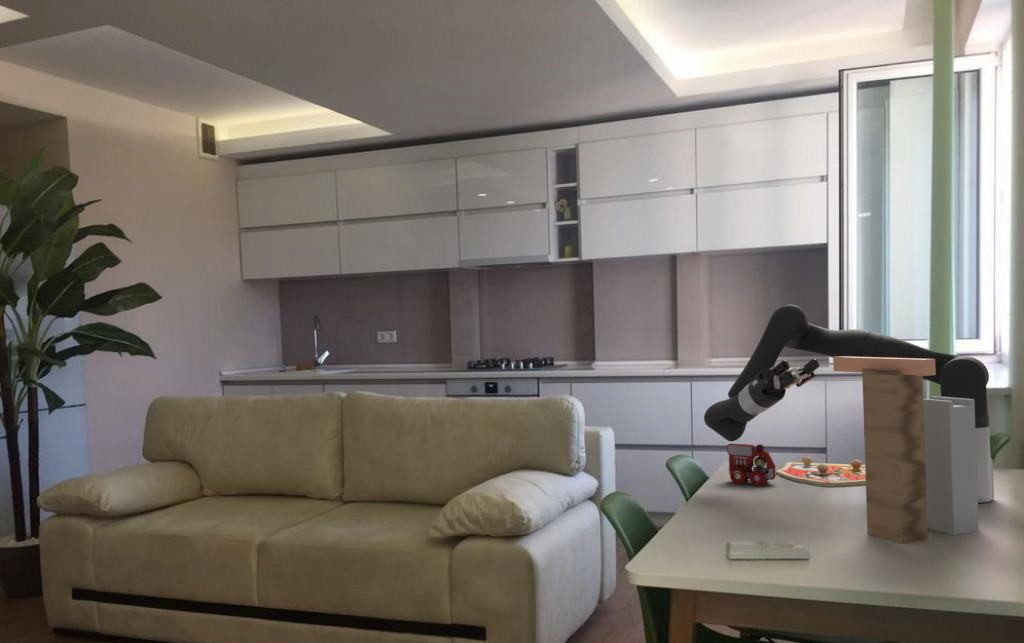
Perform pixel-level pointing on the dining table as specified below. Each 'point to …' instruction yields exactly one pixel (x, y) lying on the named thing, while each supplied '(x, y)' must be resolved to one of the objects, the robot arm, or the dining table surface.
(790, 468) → the knob puzzle
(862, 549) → the dining table surface
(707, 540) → the dining table surface
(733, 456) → the toy fire truck
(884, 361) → the stick
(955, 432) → the cradle
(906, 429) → the tower
